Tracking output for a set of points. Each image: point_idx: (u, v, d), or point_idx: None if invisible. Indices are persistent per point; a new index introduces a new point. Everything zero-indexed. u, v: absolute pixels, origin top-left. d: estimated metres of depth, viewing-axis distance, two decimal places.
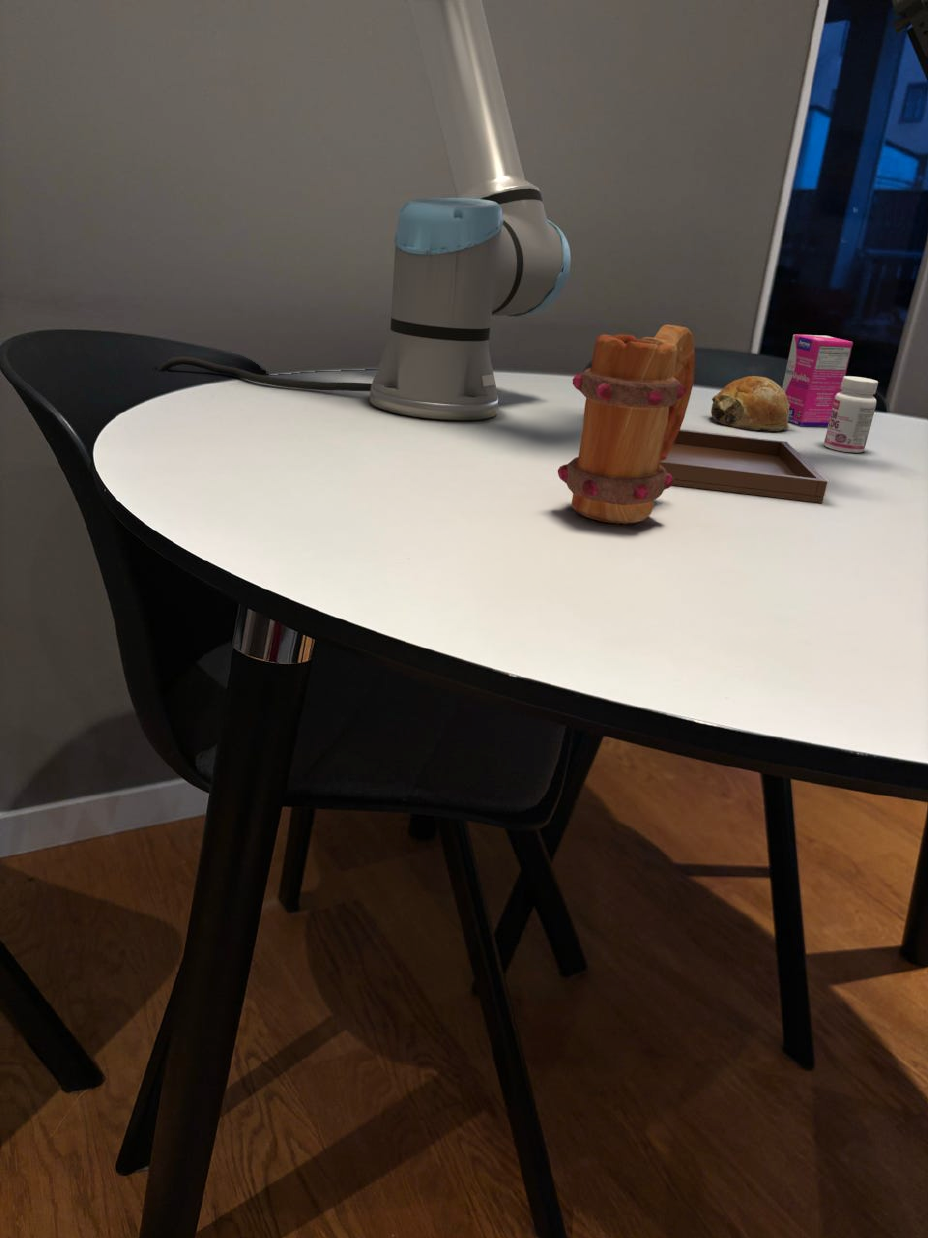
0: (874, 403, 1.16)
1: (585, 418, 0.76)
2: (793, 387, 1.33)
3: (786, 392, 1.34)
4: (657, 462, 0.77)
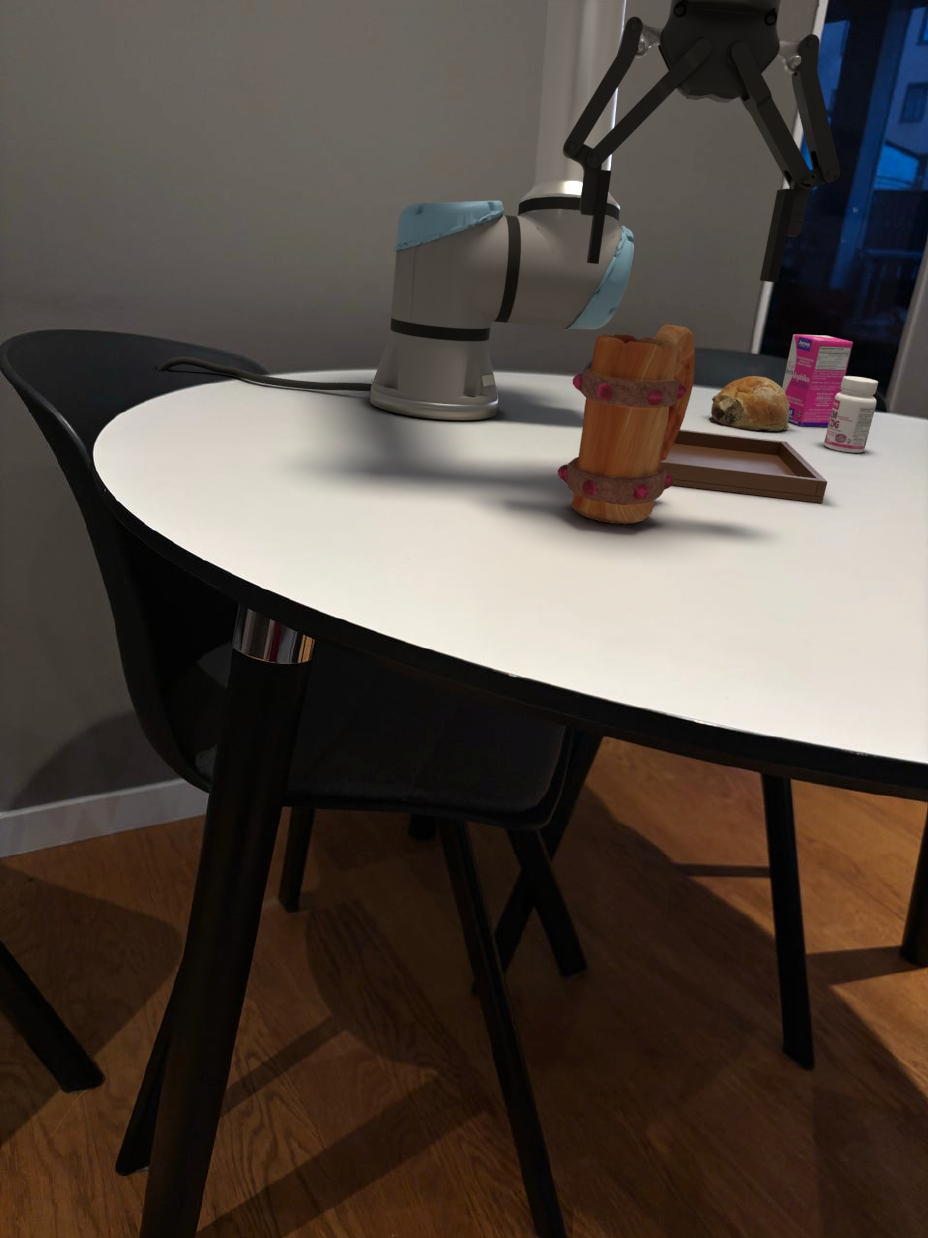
0: (874, 403, 1.16)
1: (585, 418, 0.76)
2: (793, 387, 1.33)
3: (786, 392, 1.34)
4: (657, 462, 0.77)
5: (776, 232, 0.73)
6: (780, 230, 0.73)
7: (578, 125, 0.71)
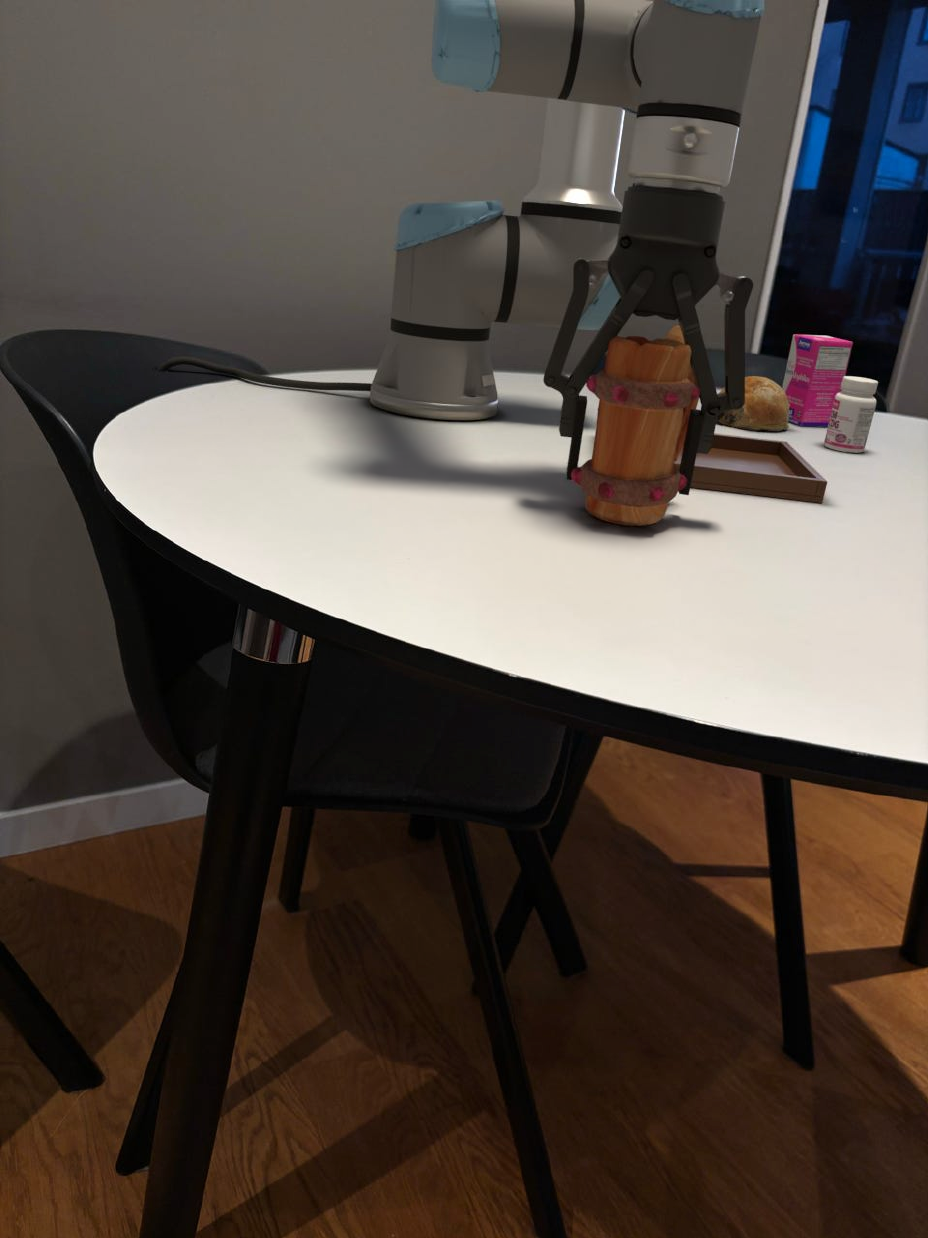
0: (874, 403, 1.16)
1: (600, 420, 0.76)
2: (793, 387, 1.33)
3: (786, 392, 1.34)
4: (671, 464, 0.77)
5: (687, 451, 0.79)
6: (690, 450, 0.78)
7: (552, 361, 0.77)
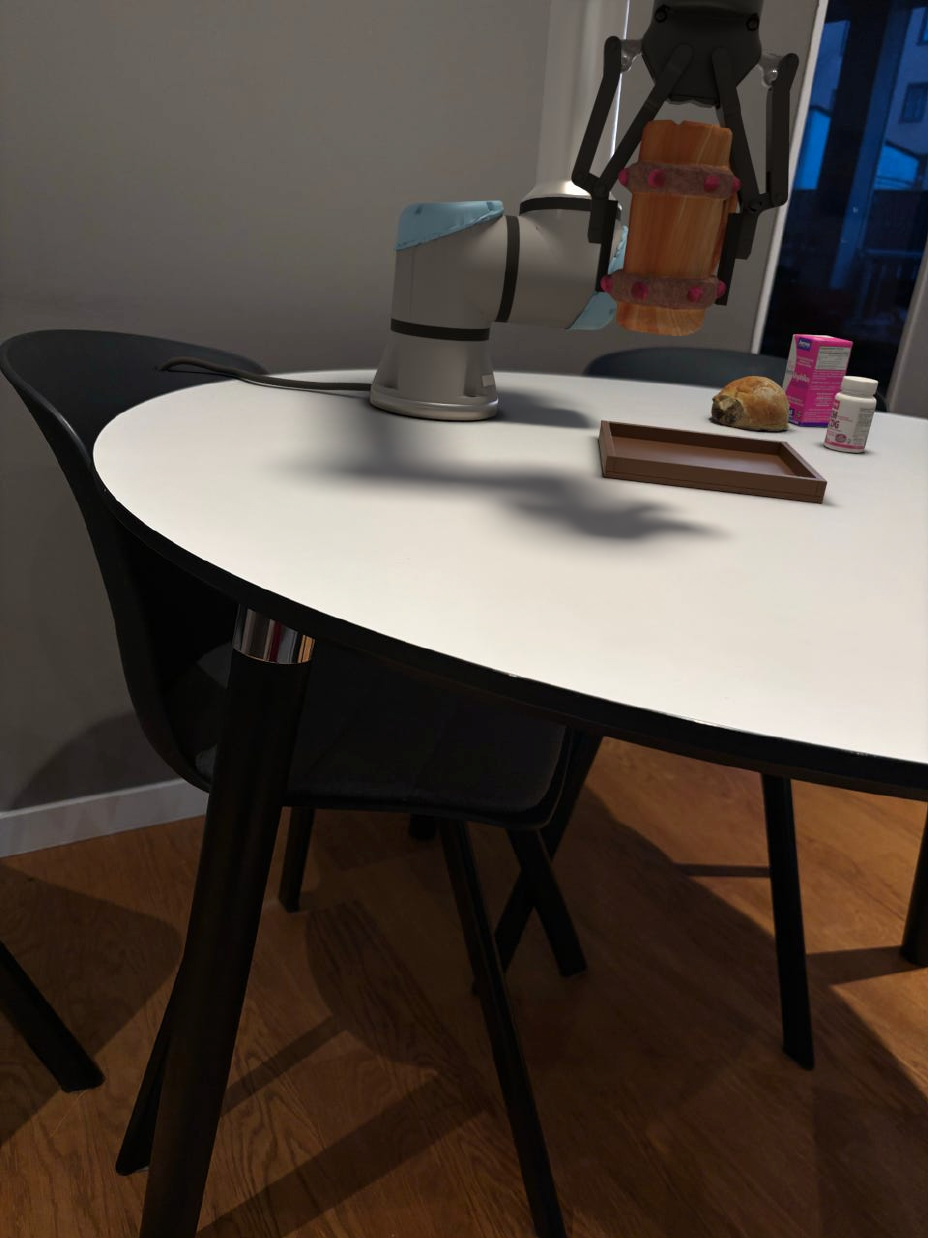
0: (874, 403, 1.16)
1: (633, 215, 0.70)
2: (793, 387, 1.33)
3: (786, 392, 1.34)
4: (710, 265, 0.72)
5: (725, 256, 0.73)
6: (728, 254, 0.73)
7: (580, 154, 0.72)
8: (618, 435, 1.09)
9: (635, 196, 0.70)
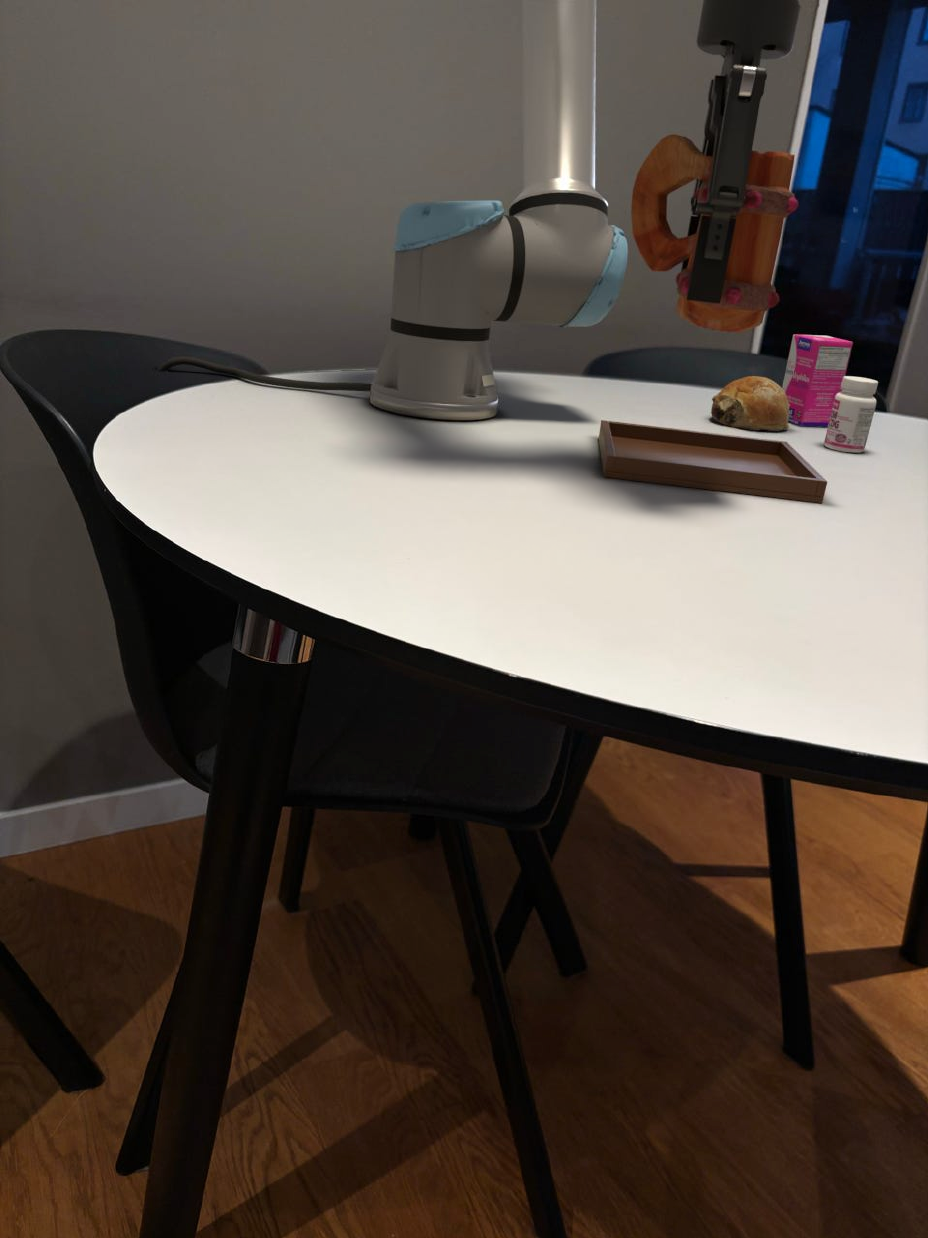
0: (874, 403, 1.16)
1: (761, 234, 0.80)
2: (793, 387, 1.33)
3: (786, 392, 1.34)
4: None
5: None
6: None
7: (746, 179, 0.75)
8: (618, 435, 1.09)
9: (763, 217, 0.80)
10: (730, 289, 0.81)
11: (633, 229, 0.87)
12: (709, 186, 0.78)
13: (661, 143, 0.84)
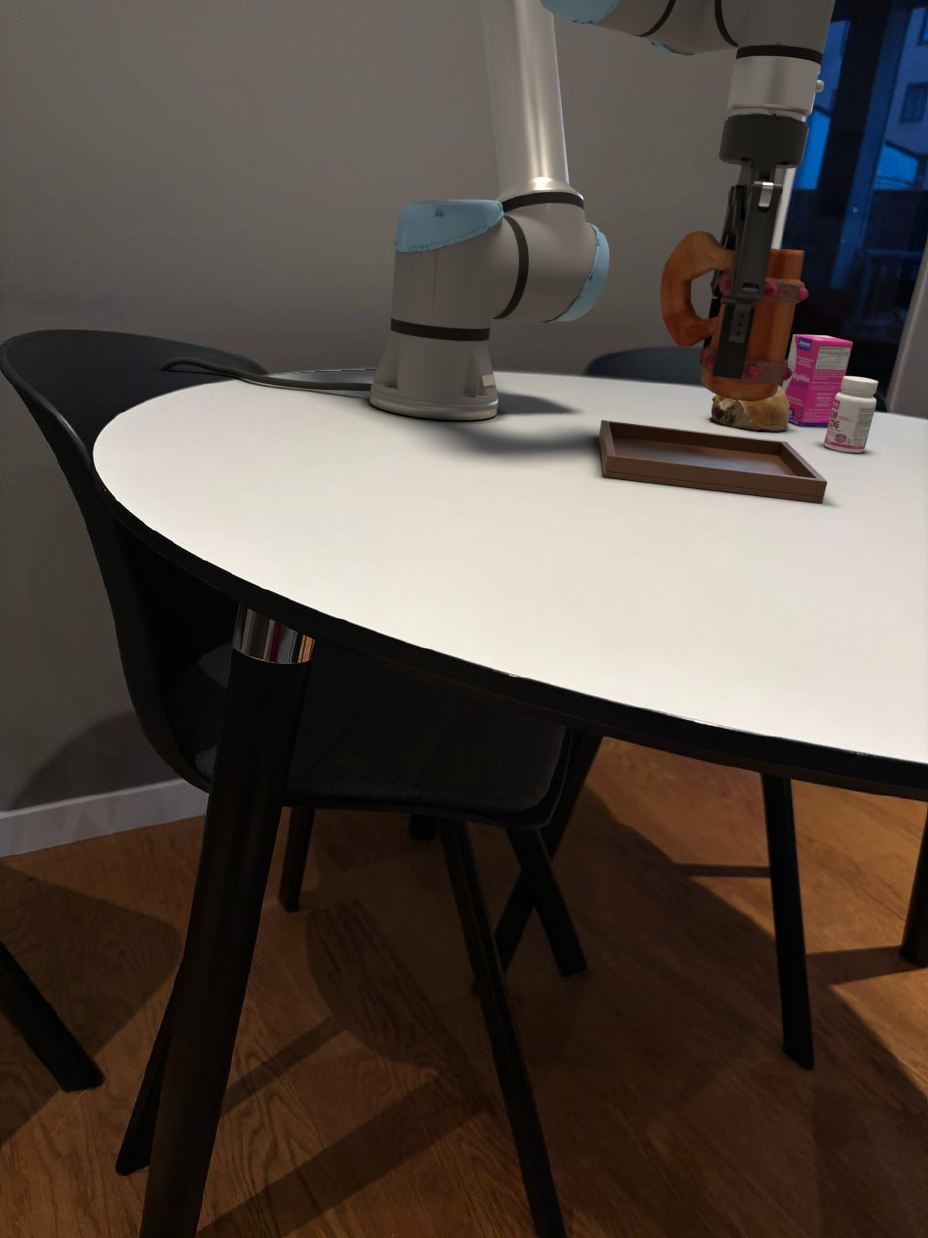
0: (874, 403, 1.16)
1: (777, 320, 0.92)
2: (793, 387, 1.33)
3: (786, 392, 1.34)
4: None
5: None
6: None
7: (765, 277, 0.87)
8: (618, 435, 1.09)
9: (778, 305, 0.92)
10: (750, 366, 0.93)
11: (662, 310, 0.99)
12: (732, 280, 0.90)
13: (687, 238, 0.96)
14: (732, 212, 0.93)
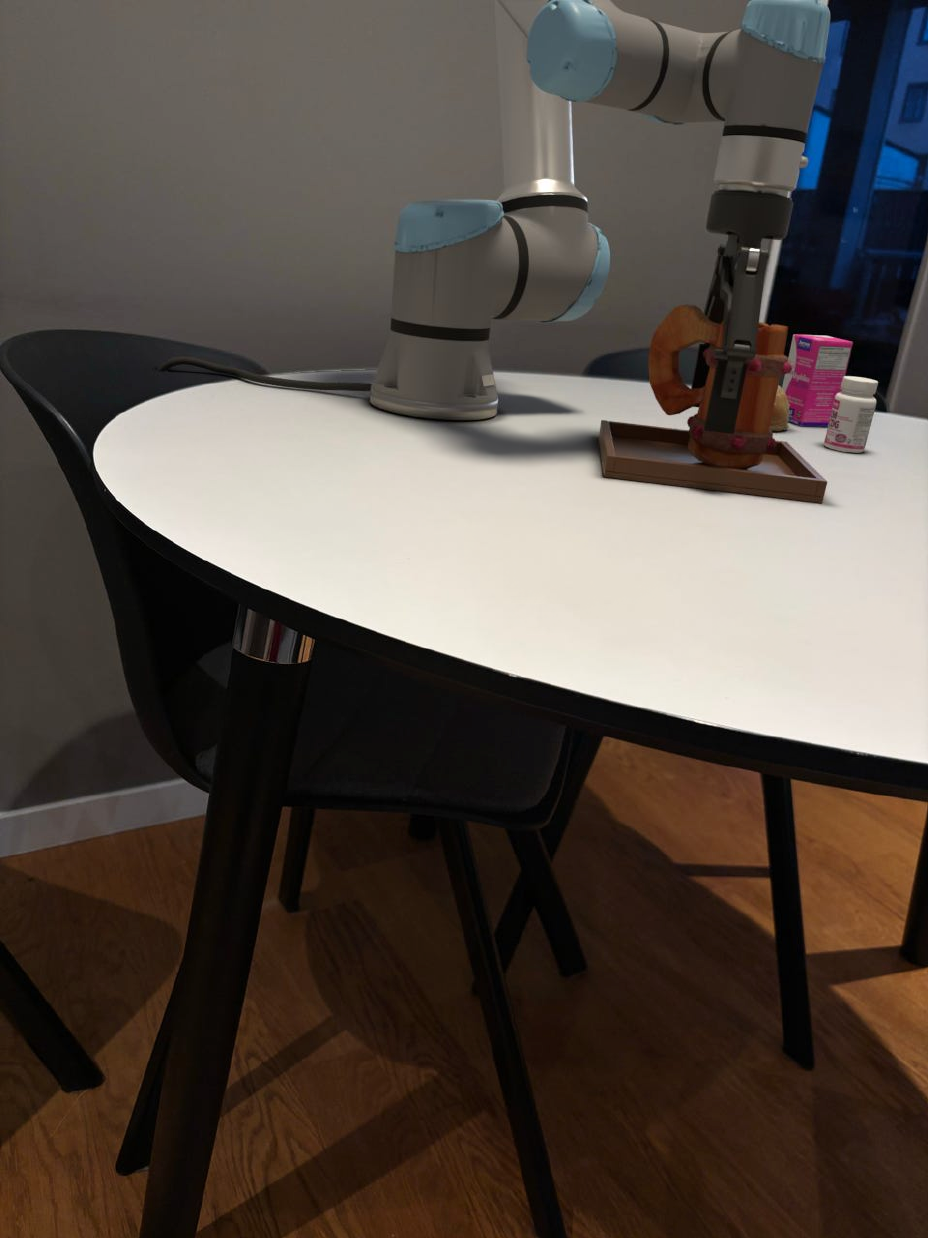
0: (874, 403, 1.16)
1: (761, 393, 0.95)
2: (793, 387, 1.33)
3: (786, 392, 1.34)
4: None
5: None
6: None
7: None
8: (618, 435, 1.09)
9: (762, 379, 0.94)
10: (735, 438, 0.95)
11: (650, 379, 1.02)
12: (723, 339, 0.90)
13: (674, 311, 0.98)
14: (718, 279, 0.96)
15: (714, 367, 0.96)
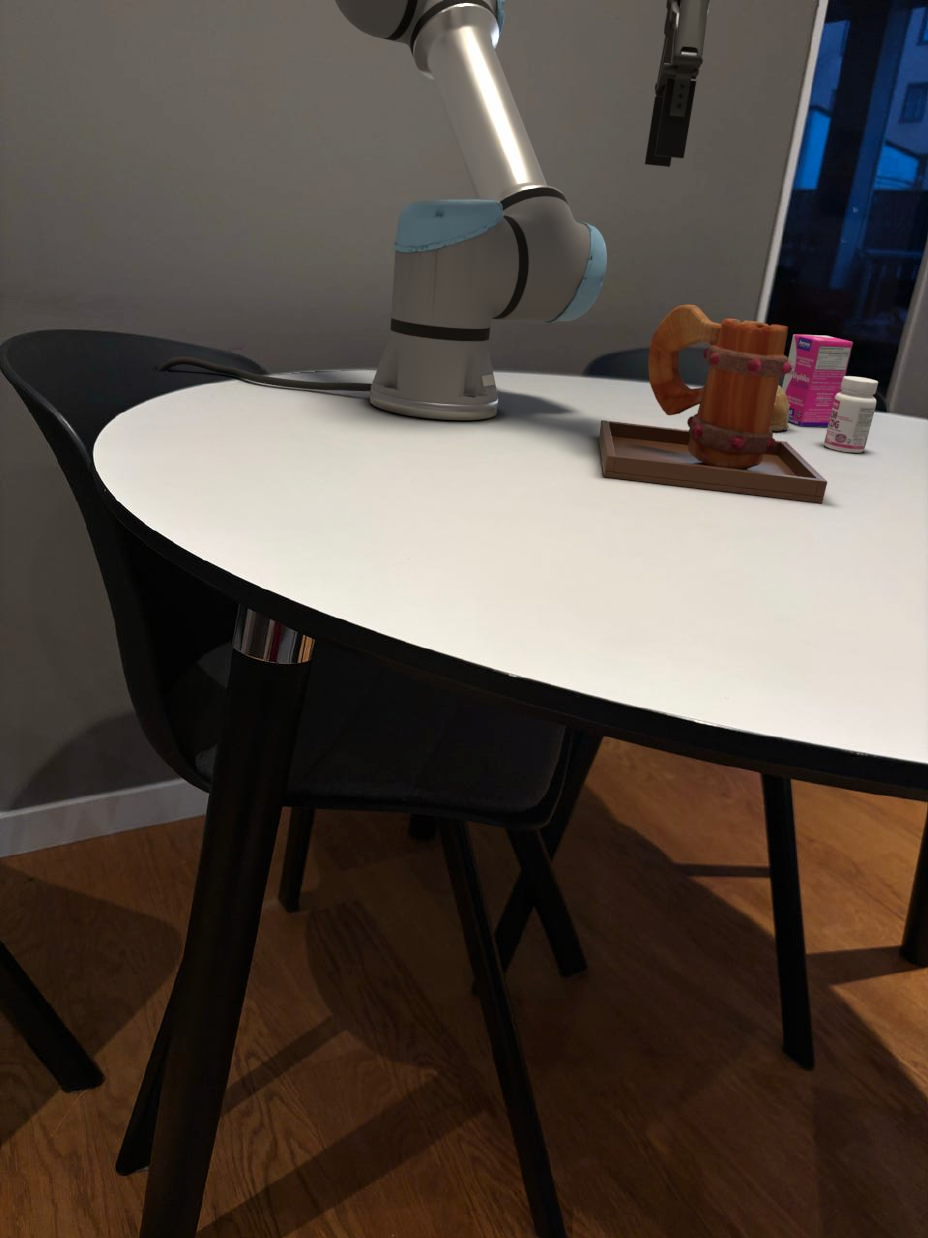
0: (874, 403, 1.16)
1: (761, 393, 0.95)
2: (793, 387, 1.33)
3: (786, 392, 1.34)
4: None
5: None
6: None
7: (703, 43, 0.88)
8: (618, 435, 1.09)
9: (762, 379, 0.94)
10: (735, 438, 0.95)
11: (650, 379, 1.02)
12: (672, 55, 0.91)
13: (674, 311, 0.98)
14: None
15: (714, 367, 0.96)
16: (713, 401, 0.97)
